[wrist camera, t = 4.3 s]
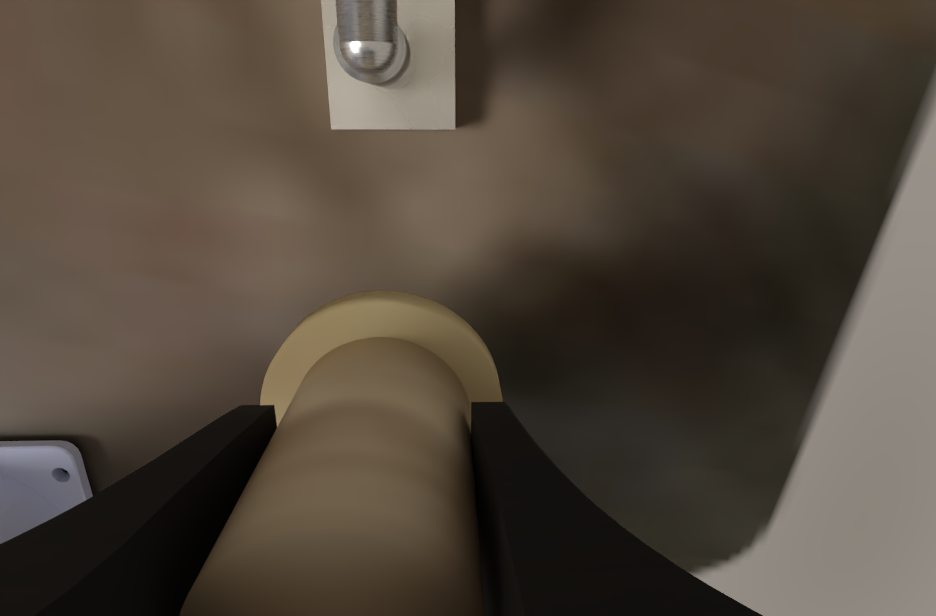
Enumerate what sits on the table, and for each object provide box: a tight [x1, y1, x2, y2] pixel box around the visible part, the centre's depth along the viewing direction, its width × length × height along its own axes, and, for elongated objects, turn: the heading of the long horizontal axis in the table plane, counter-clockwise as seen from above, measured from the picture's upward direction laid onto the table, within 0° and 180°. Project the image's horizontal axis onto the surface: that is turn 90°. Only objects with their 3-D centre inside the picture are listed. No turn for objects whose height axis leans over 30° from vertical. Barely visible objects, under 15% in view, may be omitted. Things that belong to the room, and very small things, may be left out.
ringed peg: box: [180, 291, 503, 616], centre depth 9 cm, size 5×5×6 cm
